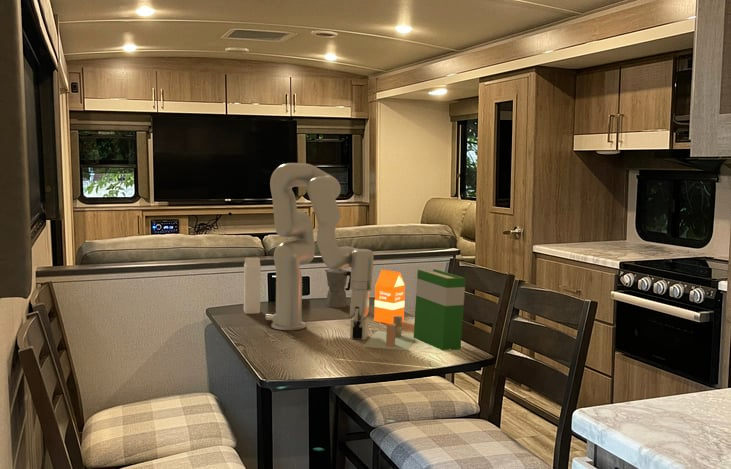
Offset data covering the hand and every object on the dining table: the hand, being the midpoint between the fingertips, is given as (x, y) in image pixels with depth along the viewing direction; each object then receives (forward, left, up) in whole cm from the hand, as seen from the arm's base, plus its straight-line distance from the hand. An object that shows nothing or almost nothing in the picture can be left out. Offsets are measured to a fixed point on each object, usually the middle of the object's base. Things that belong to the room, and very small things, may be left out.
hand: (359, 335), depth 236 cm
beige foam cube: (0, 0, 0) cm, 0 cm away
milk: (-51, +27, -1) cm, 57 cm away
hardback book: (+27, +1, -1) cm, 27 cm away
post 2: (+12, +6, 0) cm, 14 cm away
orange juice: (+5, +28, -1) cm, 28 cm away
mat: (+11, -1, -1) cm, 12 cm away
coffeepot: (-21, +50, -1) cm, 54 cm away
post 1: (+12, -7, 0) cm, 14 cm away
